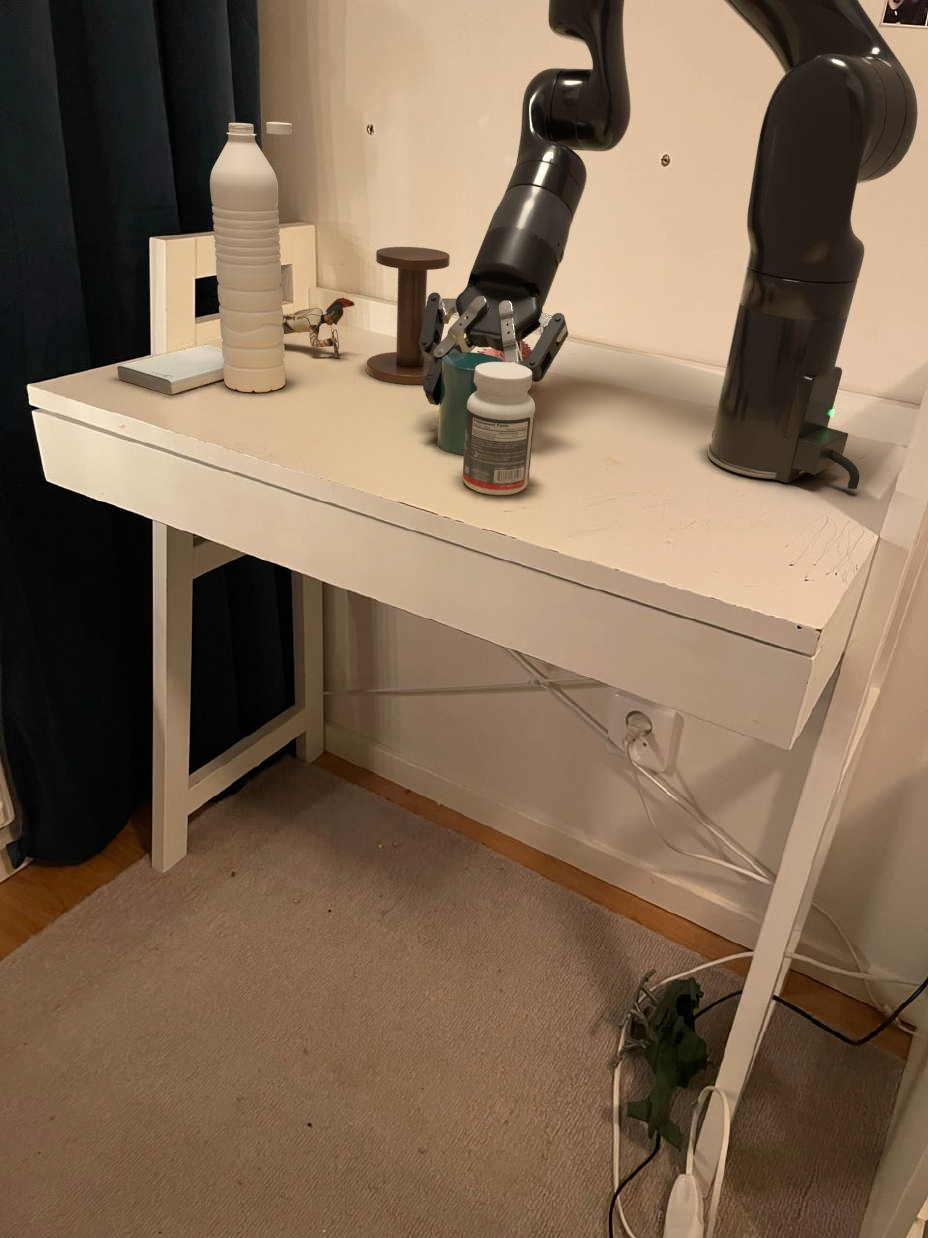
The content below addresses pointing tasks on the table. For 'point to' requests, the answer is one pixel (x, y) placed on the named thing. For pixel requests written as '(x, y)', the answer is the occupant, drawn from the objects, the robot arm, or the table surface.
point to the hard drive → (176, 370)
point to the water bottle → (248, 261)
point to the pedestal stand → (407, 314)
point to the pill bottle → (499, 429)
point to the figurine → (317, 322)
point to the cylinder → (457, 397)
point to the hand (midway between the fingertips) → (462, 406)
